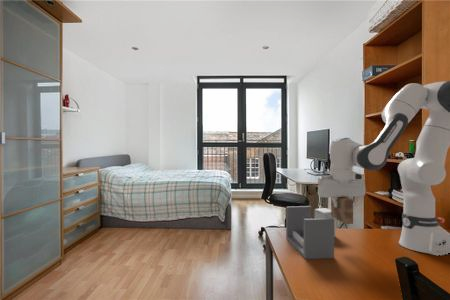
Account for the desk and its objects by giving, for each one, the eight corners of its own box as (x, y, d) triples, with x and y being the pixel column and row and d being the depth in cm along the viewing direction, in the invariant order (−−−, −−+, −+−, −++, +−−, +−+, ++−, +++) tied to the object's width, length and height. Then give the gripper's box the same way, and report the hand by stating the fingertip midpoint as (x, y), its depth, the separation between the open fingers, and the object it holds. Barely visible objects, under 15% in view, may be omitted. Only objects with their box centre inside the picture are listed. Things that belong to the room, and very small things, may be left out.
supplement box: (313, 233, 126) (313, 208, 126) (325, 231, 129) (325, 207, 129) (323, 238, 119) (323, 212, 119) (336, 236, 122) (336, 211, 121)
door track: (286, 238, 119) (286, 206, 119) (310, 237, 120) (310, 205, 120) (305, 259, 97) (305, 219, 97) (334, 257, 98) (334, 219, 98)
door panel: (331, 216, 114) (330, 194, 114) (337, 215, 114) (337, 194, 114) (346, 224, 102) (346, 199, 102) (353, 223, 102) (352, 199, 102)
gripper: (321, 176, 104) (322, 209, 104) (367, 175, 105) (368, 207, 106) (314, 175, 110) (315, 206, 110) (358, 173, 112) (358, 204, 112)
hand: (341, 206), depth 108 cm, fingers closed on door panel, 3 cm apart
